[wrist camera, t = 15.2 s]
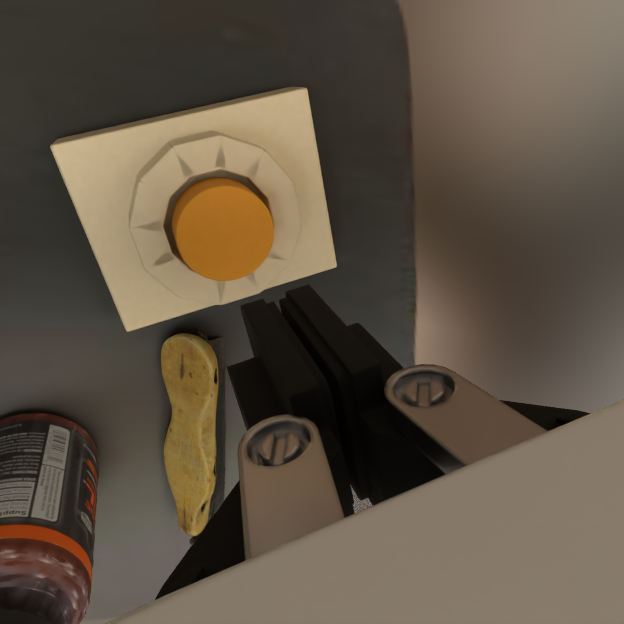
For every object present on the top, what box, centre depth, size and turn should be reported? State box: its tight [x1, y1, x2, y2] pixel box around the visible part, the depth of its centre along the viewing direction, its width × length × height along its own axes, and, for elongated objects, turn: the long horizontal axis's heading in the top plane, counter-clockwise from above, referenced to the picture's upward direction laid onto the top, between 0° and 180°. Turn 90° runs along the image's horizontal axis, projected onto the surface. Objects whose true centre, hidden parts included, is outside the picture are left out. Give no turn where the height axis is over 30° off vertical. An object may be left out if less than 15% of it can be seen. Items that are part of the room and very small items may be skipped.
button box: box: [50, 87, 337, 332], centre depth 21 cm, size 8×10×4 cm
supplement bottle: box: [0, 413, 99, 624], centre depth 20 cm, size 6×6×11 cm
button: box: [172, 177, 274, 281], centre depth 19 cm, size 4×4×2 cm
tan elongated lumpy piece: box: [161, 328, 225, 545], centre depth 27 cm, size 3×14×3 cm
